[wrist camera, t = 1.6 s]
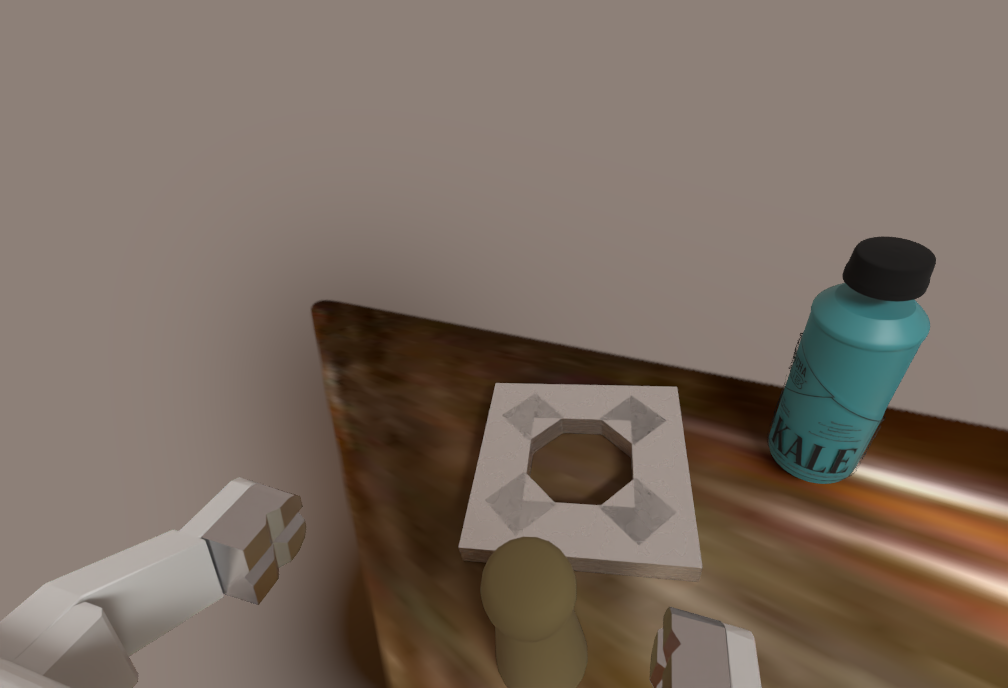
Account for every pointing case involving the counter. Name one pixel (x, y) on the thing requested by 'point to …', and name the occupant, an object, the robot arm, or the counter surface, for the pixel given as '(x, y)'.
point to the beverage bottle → (852, 360)
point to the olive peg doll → (534, 615)
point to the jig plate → (581, 527)
